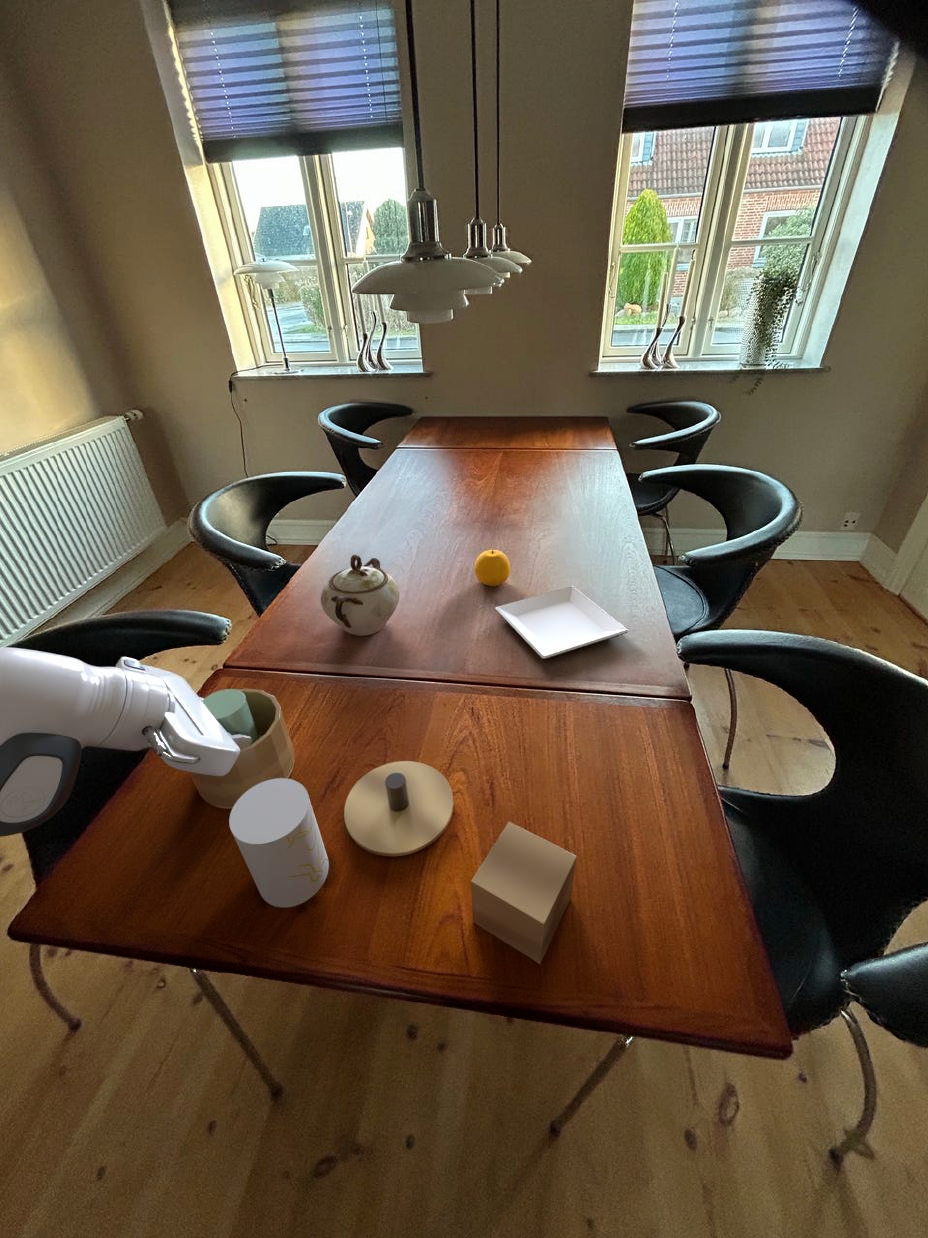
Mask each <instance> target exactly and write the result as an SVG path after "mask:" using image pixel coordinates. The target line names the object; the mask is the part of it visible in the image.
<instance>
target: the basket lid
mask: <svg viewBox="0 0 928 1238" xmlns="http://www.w3.org/2000/svg"><path fill="white" fill-rule="evenodd" d="M453 813H454V795H453V791H452V787H451V786H450V783H449V781H448V780H447V779H446V777H445V776H444V775H443V774H442V773H441V772H439V771H438V770H437V769H435V768H434V767H432V766H430V765H428V764H425V763H422V762H417V761H411V760H404V761H403V760H399V761H391V762H389V763H384V764H382V765H379V766H378V767H376V768H373V769H372V770H370V771H368V772H367V773H366V774H363V776H362V777H361V778H360V779H359V780H357V782H356V783H354V785H353V786H352V788H351V789H350V791H349V793H348V794H347V797H346V799H345V803H344V808H343V819H344V825H345V827H346V830H347V832H348V834H349V836H350V837H351V839H352V840H353V841H354V842H355V843H356V845H358V846H359V847H360V848H362V849H364V850H365V851H367V852H368V853H372V854H375V855H377V856H383V857H401V856H408V855H411V854H414V853H417V852H419V851H421V850H423V849H425V848H427V847H428V846H430V845H432V844H433V843H434V842H436V840H438V838H439V837H440V836H442V834H443V833H444V832H445V830H446V829H447V827H448V826H449V823H450V822H451V819H452V817H453Z"/></svg>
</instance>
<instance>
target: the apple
mask: <svg viewBox="0 0 928 1238" xmlns="http://www.w3.org/2000/svg"><path fill="white" fill-rule="evenodd" d="M473 571H474V574H475V575H474V576H475V577H476V579H477V580H478V581H479V582H480V583H481V584H483V585H485V586H489V587H495V586H496V587H497V586H500V585H502V584H503V583H505V582H506V581H507V580H508V578H509V577H510V574H511V562H510V560H509V558H508V556H507V555H506V554H505V553H503V552H502V551H500V550H497V549H488V550H485V551H483V552H482V553H480V554H479V556H478V557H477V558H476V559H475V562H474V570H473Z"/></svg>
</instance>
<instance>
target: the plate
mask: <svg viewBox="0 0 928 1238" xmlns="http://www.w3.org/2000/svg"><path fill="white" fill-rule="evenodd" d="M494 609H495V610H496V611H497V612H498V614H499V615H500V616H501V617H502V618H503V619H504V620H505V621H506V622H507V623H508V624H509V625H510V626H511V627H512V628H513V629H514V631H516V633H517V634H518V635H519V636H520V637H521V638H522V639H523V640H524V641H525V642H526V643H527V644H528V645H529V646H530V647H531V648H532V649H533V651H534V652H535V653H536V654H537V655H538V656H539V657H540V658H541V659H542V660H547V659H550V658H553V657H557V656H560V655H563V654H565V653H569V652H572V651H575V650H579V649H581V648H585V647H588V646H590V645H591V646H592V645H593V644H594V645H595V644H597V643H600V642H603V641H606V640H609V639H612V638H616V637H619V636H622V635H626V634H628V633H629V632H630V630H629V629H628V628H627V627H625V626H624V625H623V624H622V623H621V622H619V621H618V620H617V619H616V618H614V617H613V616H612V615H611V614H610V613H608V612H607V611H605V610H604V609H603V608H602V607H600V606H599V605H598V604H597V603H595V602H594V601H593V600H592V599H590V598H589V597H588V596H587V595H585V594H584V593H583V592H581V591H580V589H578V588H576V587H575V586H574V585H571V586H567V587H564V588H560V589H556V590H553V591H549V592H546V593H542V594H538V595H534V596H532V597H531V596H530V597H527V598H523V599H521V600H516V601H513V602H510V603H505V604H502V605H499V606H495V607H494Z"/></svg>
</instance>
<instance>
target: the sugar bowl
mask: <svg viewBox="0 0 928 1238" xmlns="http://www.w3.org/2000/svg"><path fill="white" fill-rule="evenodd" d="M349 562H350V567H348V568H345V569H343V570H340V571H338V572H336V573H335V574H333V575H332V576H331V577H330V578H329V580H328V581H327V582H326V583H325V585H324V586H323V588H322V591H321V594H320V603H321V605H320V606H321V607H322V609H323V612H324V613H325V615H327V617H328V618H329V619H330V620H331V621H333V622H334V623H335V624H336V625H338V626H339V627H341V628H342V629H343V630H344V631H345V632H346V633H347V634H350V635H354V636H360V637H361V636H370V635H374V634H375V633H378V632H380V631H381V630H382V629H383V628H384V626H385V625H386V624H387V622H388V621H389V620H390V619H391V617H392V616H393V615H394V612H395V611H396V609H397V607H398V605H399V602H400V588H399V585H398V584H397V582H396V581H395V579H394V578H393V577H392V576H391V575H390V574H388V573H386V572H385V571H384V570H383V569H382V568H381V562H380V560H379V558H376V557H372V558H370V559H369V561H367V562H366V563H365V564H363V562H362V558H361V557H360V556H359V555H358V554H353V555H351V557H350V560H349Z"/></svg>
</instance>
